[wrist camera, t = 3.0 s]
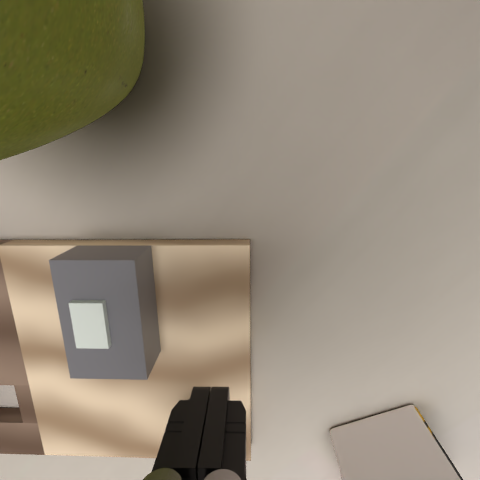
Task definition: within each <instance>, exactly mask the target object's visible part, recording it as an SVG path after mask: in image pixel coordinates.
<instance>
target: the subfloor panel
mask: <svg viewBox="0 0 480 480" xmlns="http://www.w3.org/2000/svg"><path fill="white" fill-rule="evenodd" d="M75 246H151V249H152V260H153V271H154V282H155V293H156V304H157V315H158V326H159V337H160V348H161V352H160V354H159V356H158V358H157V360H156V362H155V365H154V367H153V369H152V371H151V373H150V375H149V377H148V379H147V380H129V379H73V378H70V374H69V368H68V363H67V357H66V352H65V347H64V341H63V336H62V330H61V325H60V319H59V314H58V308H57V303H56V297H55V292H54V287H53V281H52V276H51V270H50V265H49V260H50V259H52V258H54V257H56V256H58V255H60V254H62V253H64V252H66V251H68V250H70V249H71V248H73V247H75ZM0 385H14V387H15V391H16V395H17V400H18V404H19V408H0V454H35V455H69V456H104V457H139V458H156V457H157V454H158V451H159V448H160V445H161V441H162V438H163V435H164V433H165V429H166V426H167V424H168V419H169V416H170V413H171V410H172V409H173V407H174V406H175V405H176V404H177V403H178V401H179V400H188V399H189V398H190V396H191V392H192V389H193V387H211V388H212V387H229V393H230V400H231V401H242V403H243V405H244V407H245V410H246V440H247V441H246V461H251V367H250V239H211V240H0Z"/></svg>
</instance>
